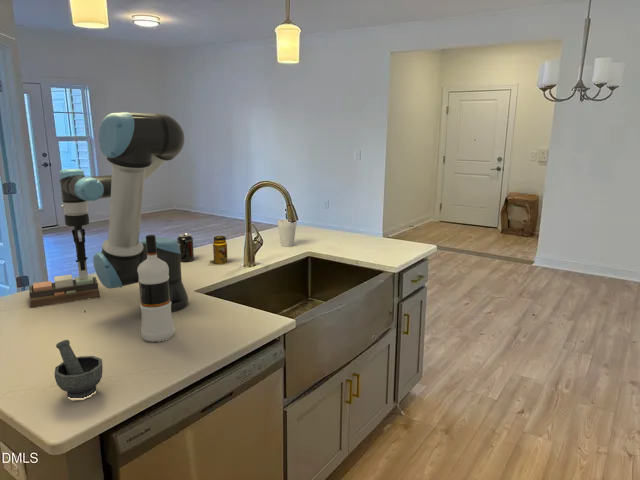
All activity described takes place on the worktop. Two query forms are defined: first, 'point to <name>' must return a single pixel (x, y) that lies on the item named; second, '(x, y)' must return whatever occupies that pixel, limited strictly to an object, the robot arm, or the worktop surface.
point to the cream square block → (63, 281)
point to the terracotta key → (42, 286)
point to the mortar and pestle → (77, 372)
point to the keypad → (63, 294)
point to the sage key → (84, 281)
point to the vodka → (155, 296)
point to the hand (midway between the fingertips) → (83, 278)
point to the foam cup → (286, 232)
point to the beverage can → (186, 247)
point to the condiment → (219, 251)
